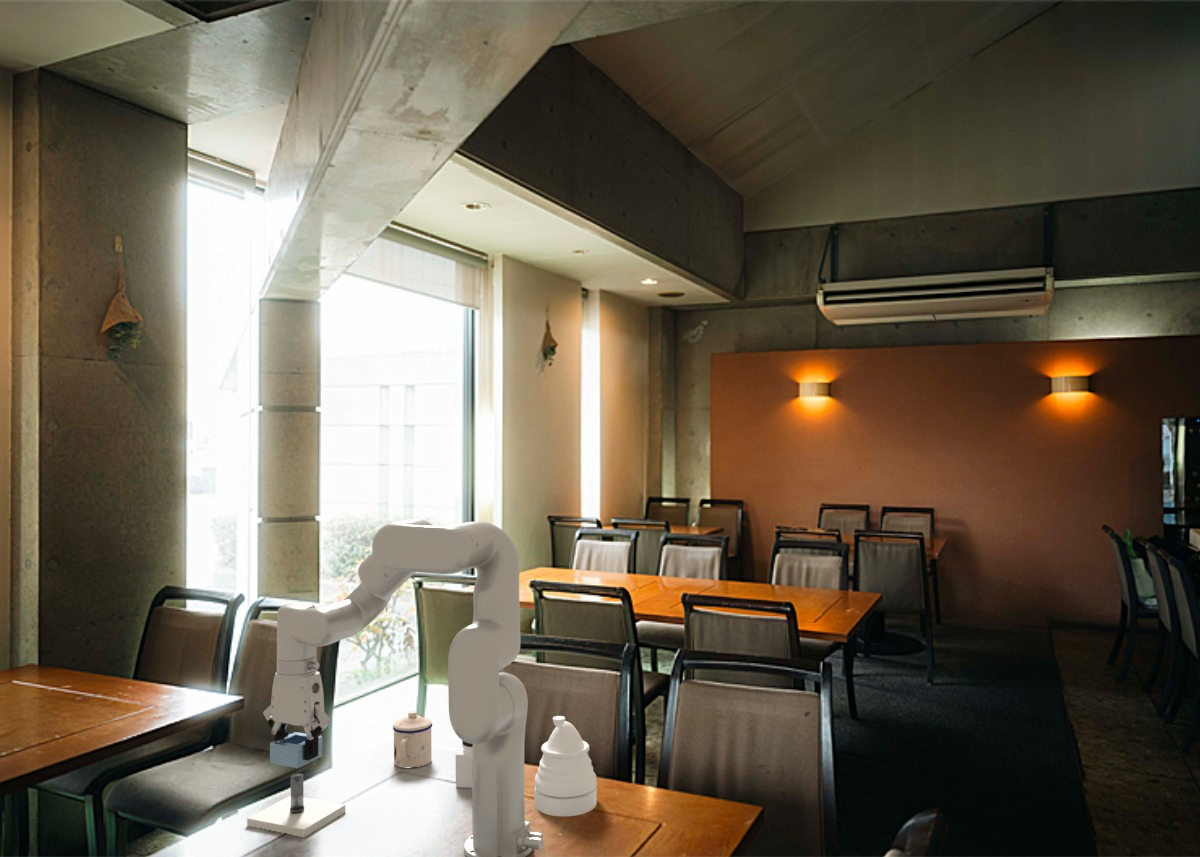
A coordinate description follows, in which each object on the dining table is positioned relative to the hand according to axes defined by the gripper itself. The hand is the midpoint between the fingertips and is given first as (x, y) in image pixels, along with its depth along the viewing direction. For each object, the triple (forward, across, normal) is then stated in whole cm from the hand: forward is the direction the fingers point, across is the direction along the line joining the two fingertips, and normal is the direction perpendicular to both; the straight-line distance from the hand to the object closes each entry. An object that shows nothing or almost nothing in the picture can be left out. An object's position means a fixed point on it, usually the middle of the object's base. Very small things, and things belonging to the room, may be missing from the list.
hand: (296, 754), depth 169 cm
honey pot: (+13, -47, -26) cm, 55 cm away
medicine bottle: (+13, -24, -29) cm, 40 cm away
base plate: (+13, 0, 0) cm, 13 cm away
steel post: (+11, 0, 0) cm, 11 cm away
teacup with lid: (+13, -4, -33) cm, 36 cm away
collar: (+1, 0, 0) cm, 1 cm away
